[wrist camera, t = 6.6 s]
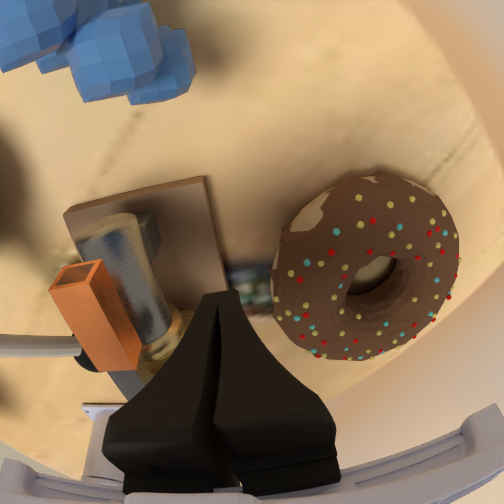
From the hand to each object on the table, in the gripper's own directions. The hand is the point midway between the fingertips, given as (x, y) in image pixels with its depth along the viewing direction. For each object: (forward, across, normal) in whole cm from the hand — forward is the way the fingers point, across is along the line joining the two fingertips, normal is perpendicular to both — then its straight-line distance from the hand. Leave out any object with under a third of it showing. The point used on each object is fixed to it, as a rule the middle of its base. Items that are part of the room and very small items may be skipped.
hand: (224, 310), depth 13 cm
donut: (+9, -9, +5) cm, 13 cm away
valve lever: (+1, +5, +3) cm, 6 cm away
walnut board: (+8, +5, +6) cm, 11 cm away
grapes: (+8, +3, -13) cm, 16 cm away
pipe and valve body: (+7, +5, +6) cm, 10 cm away
